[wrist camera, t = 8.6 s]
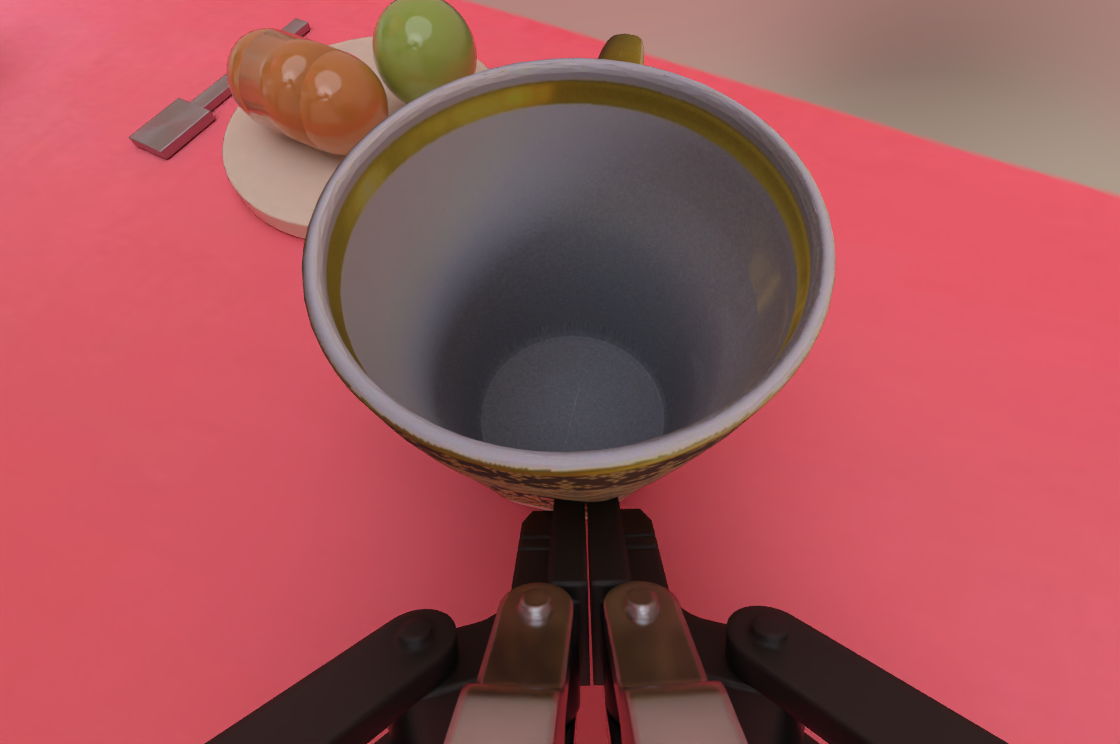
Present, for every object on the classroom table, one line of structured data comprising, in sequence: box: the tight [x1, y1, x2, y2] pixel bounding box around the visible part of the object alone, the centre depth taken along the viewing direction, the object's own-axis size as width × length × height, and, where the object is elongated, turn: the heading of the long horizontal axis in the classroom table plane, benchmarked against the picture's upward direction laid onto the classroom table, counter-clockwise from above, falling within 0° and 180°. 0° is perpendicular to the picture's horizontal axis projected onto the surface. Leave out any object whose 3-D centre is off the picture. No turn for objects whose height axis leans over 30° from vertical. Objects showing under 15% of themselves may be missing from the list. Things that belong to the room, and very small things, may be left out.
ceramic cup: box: [302, 34, 835, 519], centre depth 16 cm, size 13×10×10 cm
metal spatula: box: [129, 18, 310, 159], centre depth 29 cm, size 11×2×1 cm, turn 151°
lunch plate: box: [222, 0, 488, 239], centre depth 24 cm, size 13×13×5 cm
